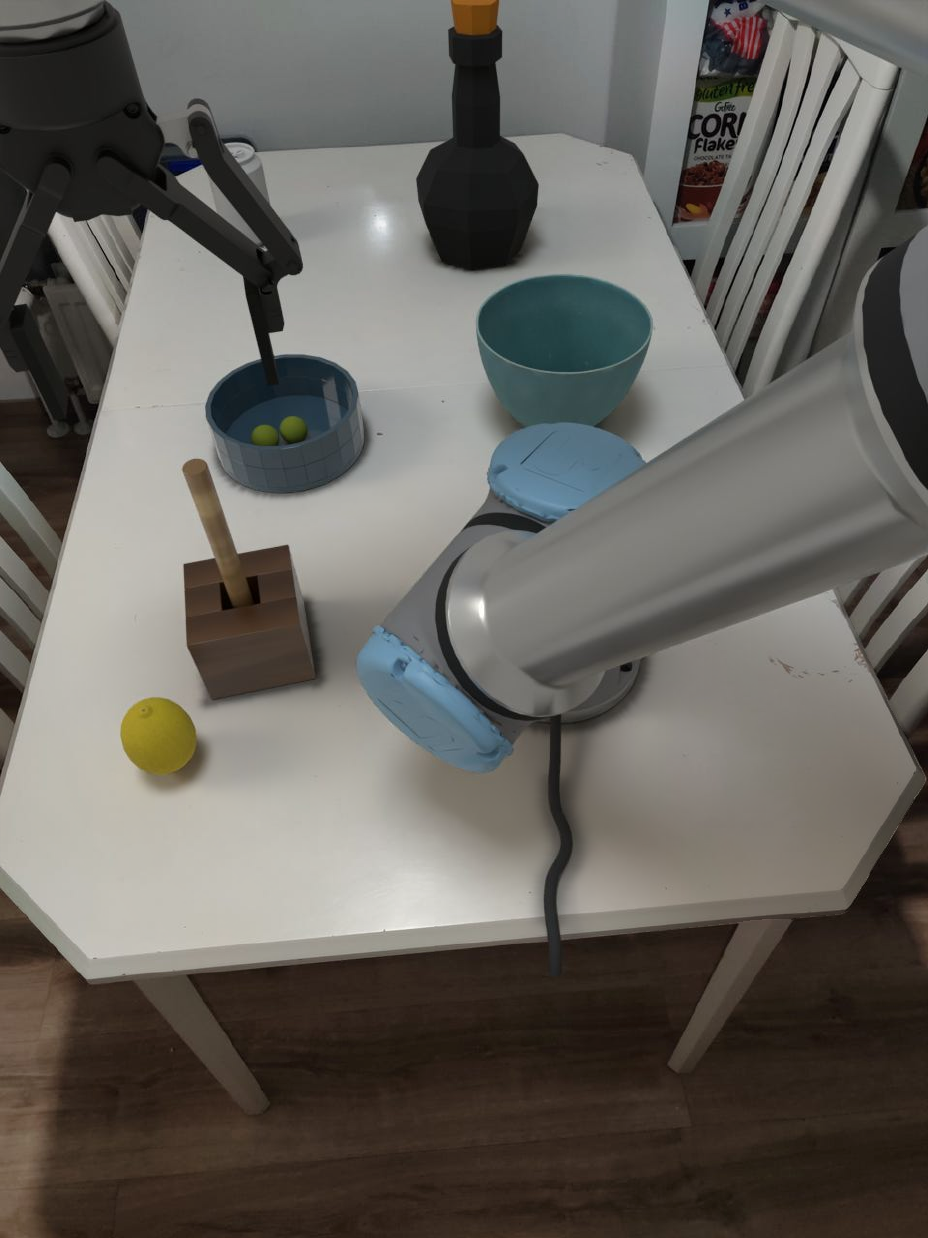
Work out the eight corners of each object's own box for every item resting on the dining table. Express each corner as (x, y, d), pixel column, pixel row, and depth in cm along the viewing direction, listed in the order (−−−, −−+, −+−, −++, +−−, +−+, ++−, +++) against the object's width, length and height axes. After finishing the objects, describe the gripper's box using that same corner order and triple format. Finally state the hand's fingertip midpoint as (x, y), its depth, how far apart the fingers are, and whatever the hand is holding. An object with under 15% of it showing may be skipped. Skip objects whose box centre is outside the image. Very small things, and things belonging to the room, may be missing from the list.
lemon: (126, 770, 72) (91, 719, 66) (174, 721, 75) (145, 668, 69) (173, 803, 70) (141, 754, 64) (221, 752, 73) (195, 700, 67)
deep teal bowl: (448, 398, 101) (444, 303, 92) (578, 350, 107) (587, 255, 97) (531, 490, 91) (536, 395, 82) (669, 432, 97) (689, 336, 87)
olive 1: (258, 453, 96) (251, 455, 93) (252, 426, 95) (245, 427, 93) (284, 449, 96) (278, 451, 93) (278, 421, 95) (272, 422, 92)
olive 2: (292, 433, 93) (270, 430, 94) (305, 450, 95) (283, 448, 96) (304, 411, 94) (281, 409, 95) (316, 429, 96) (294, 426, 97)
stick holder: (315, 678, 77) (300, 623, 71) (211, 700, 76) (186, 645, 70) (303, 601, 83) (288, 544, 77) (206, 620, 82) (182, 563, 75)
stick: (269, 653, 79) (207, 472, 62) (249, 657, 79) (182, 476, 62) (267, 638, 80) (206, 456, 63) (248, 642, 80) (181, 460, 63)
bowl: (375, 478, 93) (369, 434, 89) (223, 504, 91) (209, 461, 87) (352, 387, 103) (346, 344, 98) (215, 410, 101) (201, 366, 96)
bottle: (430, 217, 128) (416, -28, 104) (541, 223, 126) (553, -25, 103) (409, 275, 118) (389, 19, 95) (529, 282, 116) (539, 23, 93)
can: (230, 224, 128) (209, 138, 119) (280, 224, 128) (263, 138, 118) (219, 250, 124) (196, 163, 114) (271, 250, 123) (253, 163, 114)
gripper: (293, -40, 44) (347, 328, 61) (-233, 13, 41) (-24, 385, 58) (310, 9, 40) (364, 393, 56) (-279, 73, 36) (-38, 459, 53)
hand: (168, 390), depth 57 cm, fingers open, 13 cm apart
